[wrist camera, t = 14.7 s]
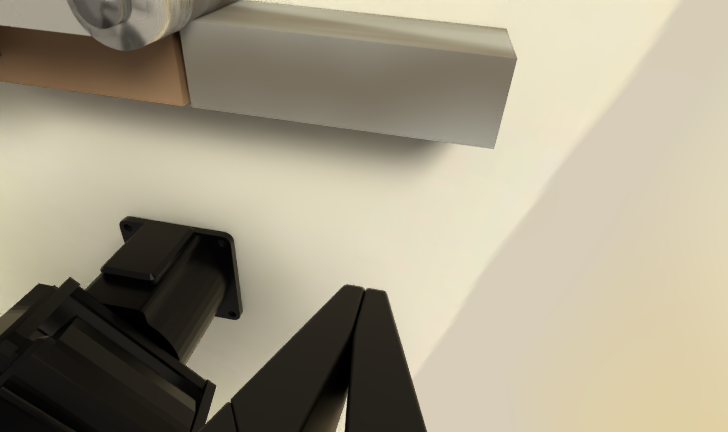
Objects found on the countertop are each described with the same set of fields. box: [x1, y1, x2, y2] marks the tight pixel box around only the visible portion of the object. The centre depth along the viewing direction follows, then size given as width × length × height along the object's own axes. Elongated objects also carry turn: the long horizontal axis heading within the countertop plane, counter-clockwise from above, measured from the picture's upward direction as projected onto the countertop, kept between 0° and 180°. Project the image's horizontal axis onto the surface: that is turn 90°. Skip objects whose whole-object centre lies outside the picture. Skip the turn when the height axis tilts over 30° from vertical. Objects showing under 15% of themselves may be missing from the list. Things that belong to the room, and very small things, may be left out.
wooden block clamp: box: [0, 0, 517, 149], centre depth 16 cm, size 5×22×6 cm, turn 86°
